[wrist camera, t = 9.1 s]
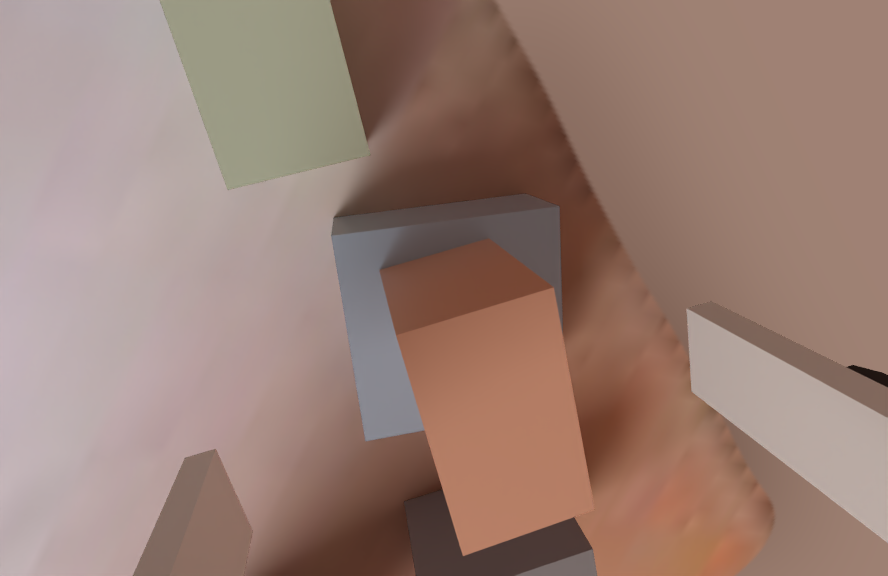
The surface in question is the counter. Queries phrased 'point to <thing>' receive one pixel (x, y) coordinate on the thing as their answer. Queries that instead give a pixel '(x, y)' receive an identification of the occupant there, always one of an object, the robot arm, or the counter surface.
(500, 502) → the terracotta brick
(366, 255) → the slate blue brick
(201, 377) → the counter surface
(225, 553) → the robot arm
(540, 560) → the charcoal brick
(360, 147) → the sage brick
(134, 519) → the counter surface
